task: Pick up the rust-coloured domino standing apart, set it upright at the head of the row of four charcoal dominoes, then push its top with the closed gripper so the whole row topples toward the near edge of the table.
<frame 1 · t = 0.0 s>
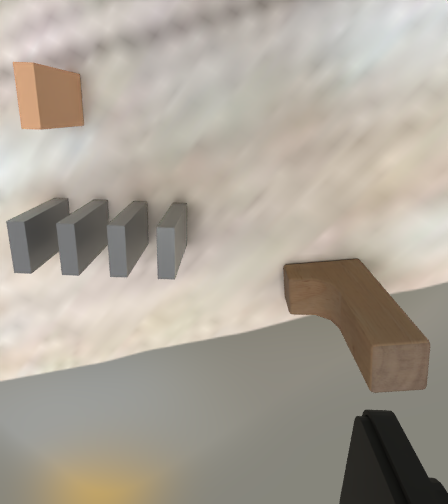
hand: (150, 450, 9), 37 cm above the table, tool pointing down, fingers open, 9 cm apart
wooden block: (320, 277, 47), on the table
domino 3: (140, 222, 45), on the table
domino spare: (74, 100, 41), on the table
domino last: (63, 219, 45), on the table
domino 2: (179, 224, 45), on the table
domino 4: (102, 221, 45), on the table
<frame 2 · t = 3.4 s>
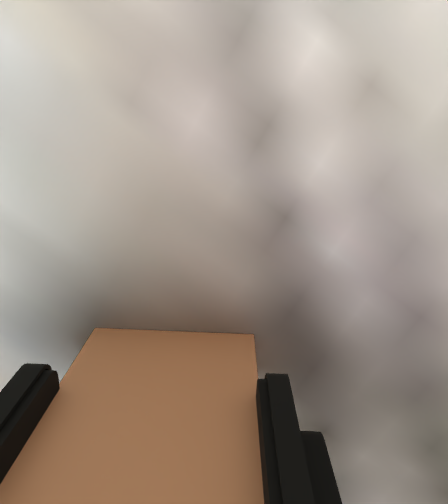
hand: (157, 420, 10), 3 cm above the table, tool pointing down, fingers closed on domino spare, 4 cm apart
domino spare: (174, 352, 13), on the table, touching gripper
when the fingers open (3 cm above the table, at t = 8.9 s): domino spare stays where it is, on the table.
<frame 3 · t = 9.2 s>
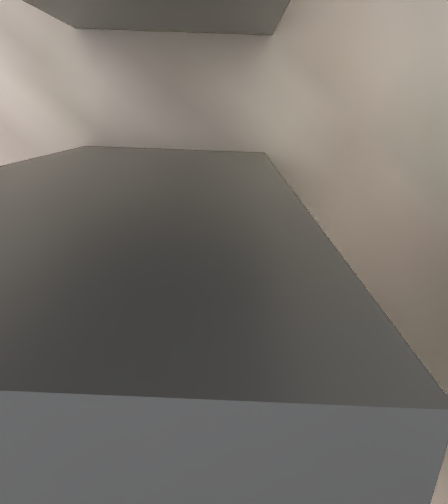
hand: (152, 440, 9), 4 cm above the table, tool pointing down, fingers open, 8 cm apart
domino 2: (174, 178, 11), on the table
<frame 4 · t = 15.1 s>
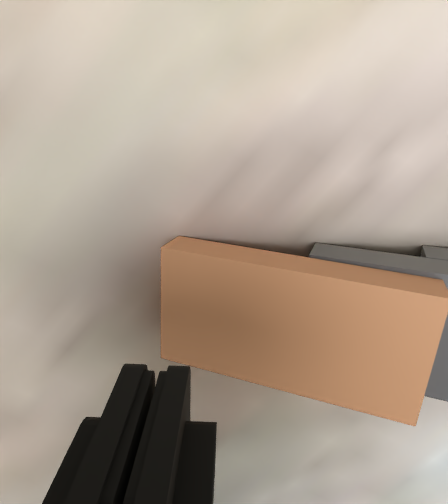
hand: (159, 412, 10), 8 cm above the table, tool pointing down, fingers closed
domino 3: (412, 306, 17), point 1 cm above the table, tilted 71°, touching domino 2, domino 4
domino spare: (169, 297, 17), point 1 cm above the table, tilted 72°, touching domino 2
domino 2: (306, 304, 17), point 1 cm above the table, tilted 70°, touching domino 3, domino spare
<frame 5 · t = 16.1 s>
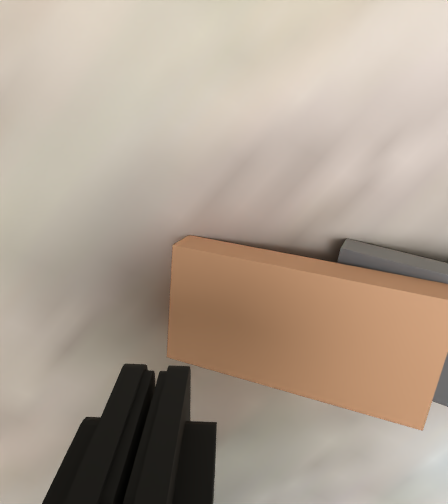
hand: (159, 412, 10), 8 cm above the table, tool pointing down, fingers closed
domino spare: (177, 296, 17), point 1 cm above the table, tilted 72°, touching domino 2
domino 2: (329, 298, 17), point 1 cm above the table, tilted 67°, touching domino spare
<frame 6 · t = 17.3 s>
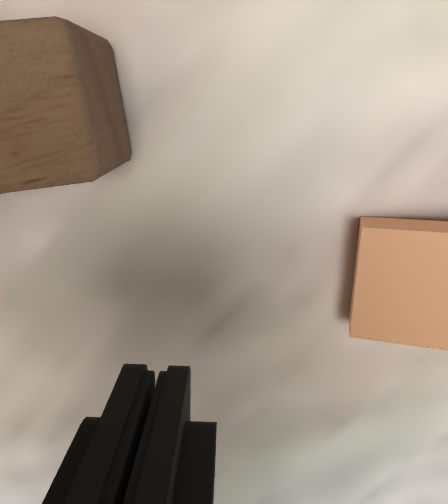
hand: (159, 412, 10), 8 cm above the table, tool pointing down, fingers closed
wooden block: (15, 115, 16), on the table
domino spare: (354, 277, 17), point 1 cm above the table, tilted 75°, touching domino 2
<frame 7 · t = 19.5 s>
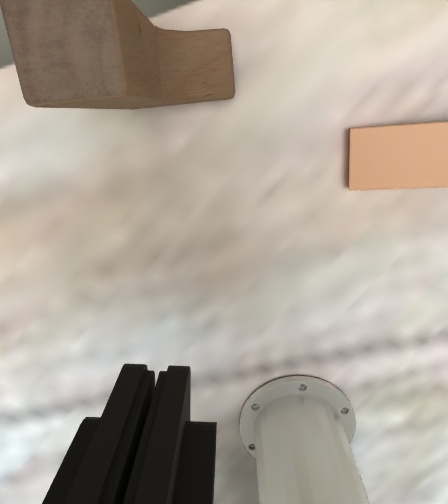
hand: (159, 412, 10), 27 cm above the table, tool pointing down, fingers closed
wooden block: (178, 75, 32), on the table
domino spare: (349, 159, 34), point 1 cm above the table, tilted 76°
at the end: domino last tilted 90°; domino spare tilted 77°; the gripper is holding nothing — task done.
